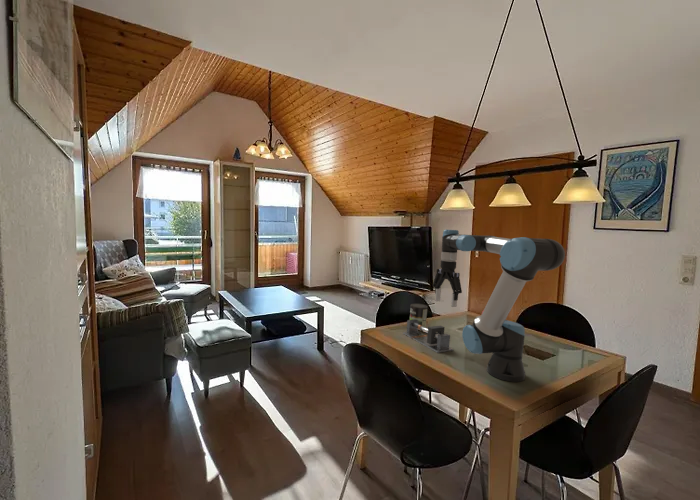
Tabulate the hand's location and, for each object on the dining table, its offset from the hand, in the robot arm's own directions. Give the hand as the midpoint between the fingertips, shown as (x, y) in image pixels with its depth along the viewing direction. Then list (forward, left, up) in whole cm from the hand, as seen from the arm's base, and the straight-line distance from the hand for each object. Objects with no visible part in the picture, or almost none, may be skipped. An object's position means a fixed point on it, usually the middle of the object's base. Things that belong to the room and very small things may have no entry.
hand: (445, 303), depth 169 cm
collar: (+5, 0, -22) cm, 23 cm away
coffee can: (+33, -10, -24) cm, 42 cm away
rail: (+12, 0, -24) cm, 27 cm away
